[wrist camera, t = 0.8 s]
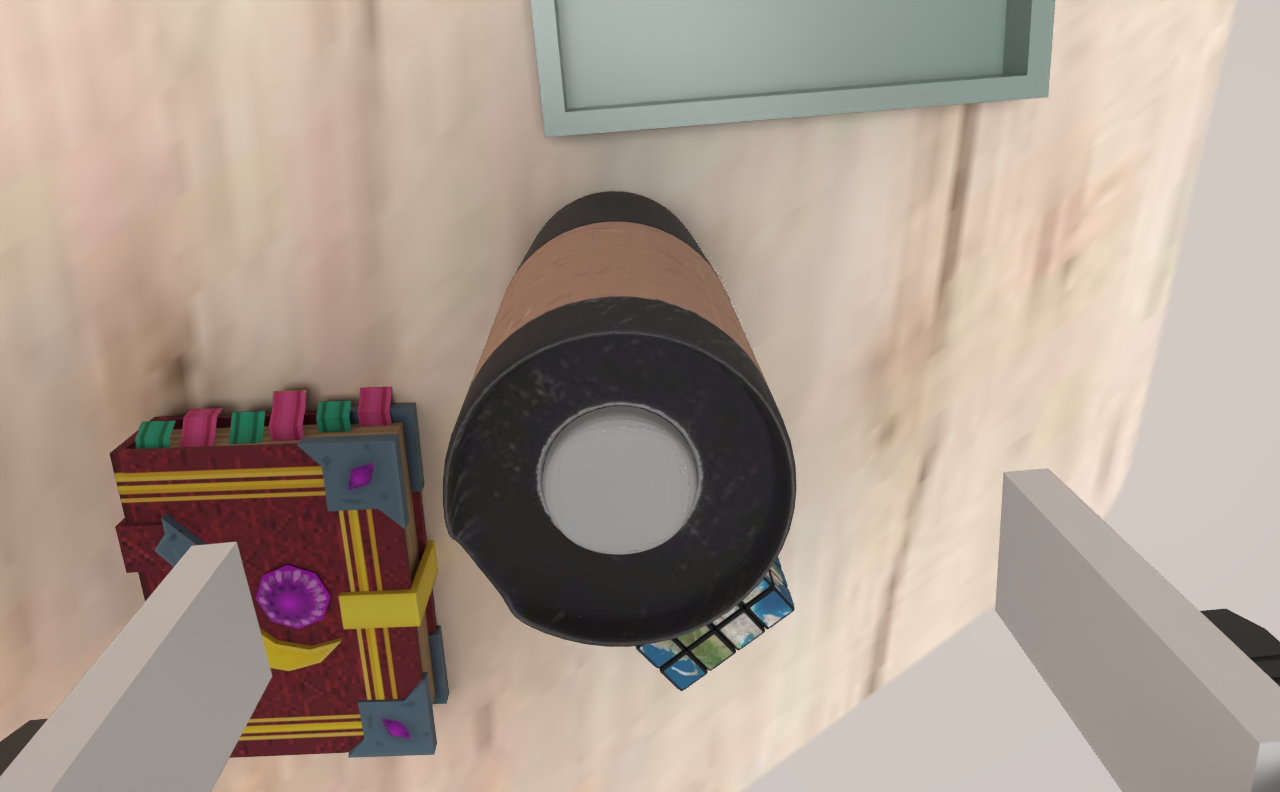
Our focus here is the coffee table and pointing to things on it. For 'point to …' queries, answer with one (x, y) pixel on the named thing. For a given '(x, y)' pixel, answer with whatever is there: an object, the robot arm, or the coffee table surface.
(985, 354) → the coffee table surface
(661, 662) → the puzzle
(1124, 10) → the coffee table surface
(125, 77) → the coffee table surface
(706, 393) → the travel mug
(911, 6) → the tray
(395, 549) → the decorative book
